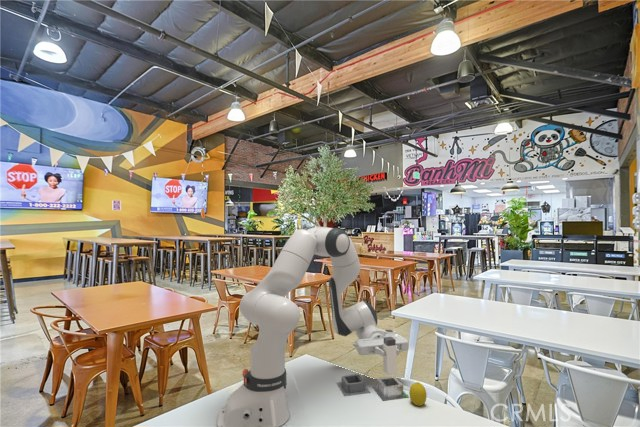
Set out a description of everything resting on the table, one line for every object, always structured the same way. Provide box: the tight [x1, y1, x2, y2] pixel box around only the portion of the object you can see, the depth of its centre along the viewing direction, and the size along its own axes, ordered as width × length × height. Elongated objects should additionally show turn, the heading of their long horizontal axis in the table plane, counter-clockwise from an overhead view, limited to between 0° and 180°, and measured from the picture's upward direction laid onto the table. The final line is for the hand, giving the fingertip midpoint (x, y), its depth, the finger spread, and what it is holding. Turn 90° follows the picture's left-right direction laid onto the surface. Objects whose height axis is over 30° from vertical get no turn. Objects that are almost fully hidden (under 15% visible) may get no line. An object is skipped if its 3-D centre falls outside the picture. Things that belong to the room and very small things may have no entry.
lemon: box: [408, 381, 427, 407], centre depth 107 cm, size 6×6×8 cm
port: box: [371, 376, 410, 402], centre depth 114 cm, size 10×10×4 cm
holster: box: [336, 374, 371, 397], centre depth 118 cm, size 10×10×4 cm
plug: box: [382, 337, 398, 376], centre depth 115 cm, size 4×4×12 cm
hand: (390, 353), depth 114 cm, fingers closed on plug, 4 cm apart
